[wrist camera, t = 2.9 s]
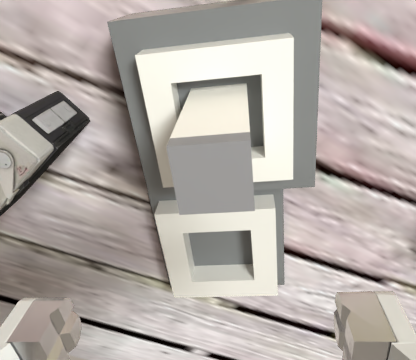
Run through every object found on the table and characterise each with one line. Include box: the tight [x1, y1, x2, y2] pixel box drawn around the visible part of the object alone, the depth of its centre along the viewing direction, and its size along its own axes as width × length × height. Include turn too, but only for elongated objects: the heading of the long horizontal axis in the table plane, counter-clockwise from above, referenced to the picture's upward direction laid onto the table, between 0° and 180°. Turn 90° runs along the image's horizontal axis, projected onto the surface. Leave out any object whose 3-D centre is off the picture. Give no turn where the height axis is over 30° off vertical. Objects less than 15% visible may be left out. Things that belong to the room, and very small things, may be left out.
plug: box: [166, 83, 255, 215], centre depth 22 cm, size 4×4×10 cm
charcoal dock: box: [107, 0, 322, 197], centre depth 28 cm, size 14×14×8 cm
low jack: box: [148, 189, 284, 298], centre depth 38 cm, size 14×14×3 cm
